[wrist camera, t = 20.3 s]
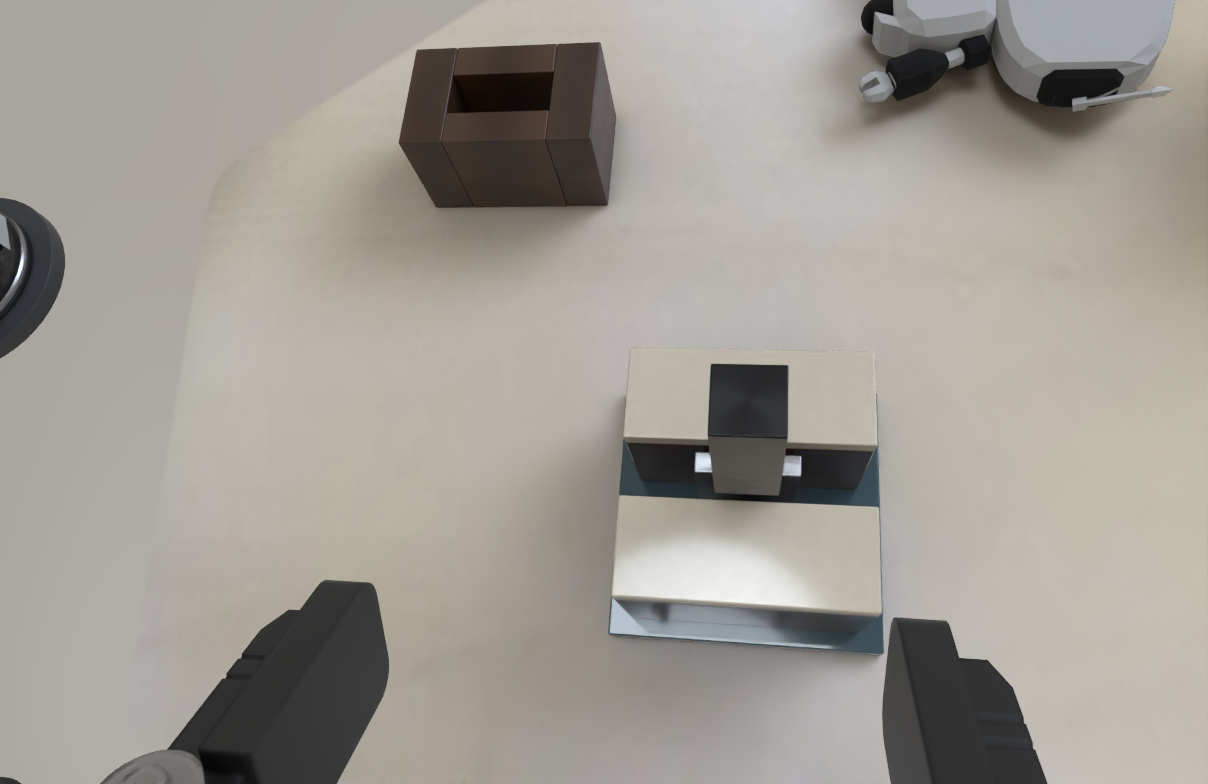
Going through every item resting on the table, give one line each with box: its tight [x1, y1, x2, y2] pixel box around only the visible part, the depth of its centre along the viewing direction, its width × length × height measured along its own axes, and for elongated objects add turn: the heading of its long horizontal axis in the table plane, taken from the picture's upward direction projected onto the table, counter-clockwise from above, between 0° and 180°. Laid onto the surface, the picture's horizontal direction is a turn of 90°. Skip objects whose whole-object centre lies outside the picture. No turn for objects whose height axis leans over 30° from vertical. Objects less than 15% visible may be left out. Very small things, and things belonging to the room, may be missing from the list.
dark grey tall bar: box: [694, 364, 801, 503], centre depth 34 cm, size 4×2×15 cm, turn 85°
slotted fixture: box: [608, 347, 884, 656], centre depth 38 cm, size 12×12×8 cm
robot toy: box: [859, 0, 1175, 112], centre depth 47 cm, size 12×4×15 cm
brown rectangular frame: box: [399, 42, 616, 207], centre depth 48 cm, size 10×6×6 cm, turn 85°
